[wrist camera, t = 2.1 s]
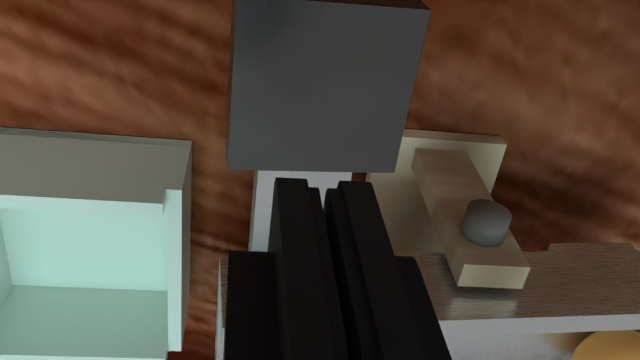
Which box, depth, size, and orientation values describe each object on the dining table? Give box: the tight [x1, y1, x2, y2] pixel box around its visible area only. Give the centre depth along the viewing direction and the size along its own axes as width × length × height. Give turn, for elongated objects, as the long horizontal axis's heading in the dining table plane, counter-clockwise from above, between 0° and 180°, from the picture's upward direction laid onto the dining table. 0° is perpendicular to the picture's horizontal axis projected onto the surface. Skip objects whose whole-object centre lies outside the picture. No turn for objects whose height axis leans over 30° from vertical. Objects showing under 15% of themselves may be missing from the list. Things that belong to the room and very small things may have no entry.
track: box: [215, 0, 640, 360], centre depth 23 cm, size 19×18×6 cm
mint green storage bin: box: [0, 127, 192, 360], centre depth 25 cm, size 9×9×9 cm
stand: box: [365, 129, 531, 289], centre depth 28 cm, size 6×13×9 cm, turn 173°
